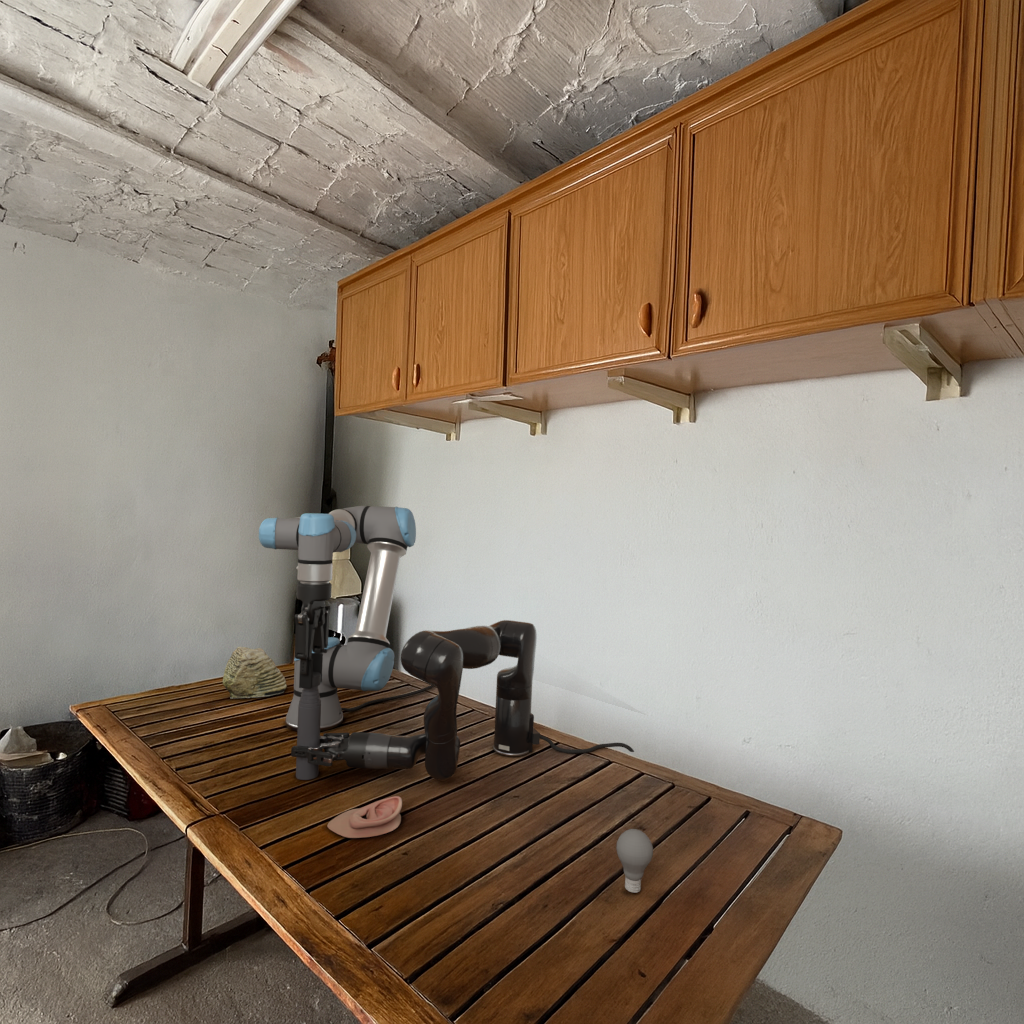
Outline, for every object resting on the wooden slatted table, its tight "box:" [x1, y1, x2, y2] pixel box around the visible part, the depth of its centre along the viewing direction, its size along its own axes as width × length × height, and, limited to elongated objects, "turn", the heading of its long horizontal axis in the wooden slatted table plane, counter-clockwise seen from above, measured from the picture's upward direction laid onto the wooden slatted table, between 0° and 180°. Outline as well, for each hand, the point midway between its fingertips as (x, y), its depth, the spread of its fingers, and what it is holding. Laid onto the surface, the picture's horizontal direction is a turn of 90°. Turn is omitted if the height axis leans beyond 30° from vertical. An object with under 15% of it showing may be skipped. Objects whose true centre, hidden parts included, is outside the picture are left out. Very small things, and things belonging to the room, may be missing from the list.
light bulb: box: [615, 828, 654, 894], centre depth 106 cm, size 6×6×10 cm
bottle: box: [295, 686, 321, 781], centre depth 143 cm, size 5×5×23 cm
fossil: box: [222, 646, 288, 699], centre depth 198 cm, size 9×18×15 cm, turn 132°
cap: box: [312, 672, 321, 687], centre depth 143 cm, size 4×4×2 cm
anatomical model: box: [327, 795, 403, 839], centre depth 123 cm, size 13×4×12 cm
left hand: (310, 684), depth 143 cm, fingers closed on cap, 4 cm apart
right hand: (296, 746), depth 144 cm, fingers closed on bottle, 5 cm apart
